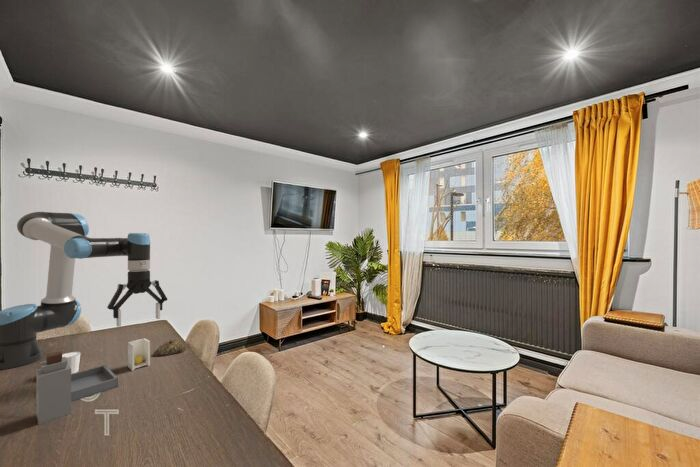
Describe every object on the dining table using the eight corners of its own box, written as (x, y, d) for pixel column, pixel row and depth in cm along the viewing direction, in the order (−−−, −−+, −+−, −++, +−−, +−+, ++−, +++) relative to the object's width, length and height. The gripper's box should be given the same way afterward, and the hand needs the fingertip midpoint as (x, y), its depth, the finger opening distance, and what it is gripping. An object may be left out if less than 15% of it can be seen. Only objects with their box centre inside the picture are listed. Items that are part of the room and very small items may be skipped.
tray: (48, 388, 104) (48, 380, 104) (104, 372, 116) (104, 364, 116) (56, 406, 93) (56, 396, 93) (118, 386, 105) (118, 378, 105)
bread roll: (183, 354, 134) (183, 343, 134) (151, 358, 130) (151, 347, 130) (187, 344, 146) (187, 334, 146) (158, 348, 142) (158, 337, 142)
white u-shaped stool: (127, 366, 121) (127, 342, 121) (144, 361, 126) (144, 338, 126) (132, 370, 117) (132, 345, 117) (149, 365, 122) (150, 341, 122)
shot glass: (65, 377, 112) (65, 359, 112) (51, 375, 113) (51, 357, 113) (85, 369, 119) (85, 352, 119) (71, 368, 120) (71, 350, 120)
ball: (132, 364, 121) (132, 356, 122) (141, 362, 124) (141, 354, 124) (135, 365, 119) (134, 356, 120) (144, 362, 122) (143, 354, 122)
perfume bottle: (67, 405, 93) (67, 348, 93) (71, 413, 89) (71, 353, 89) (36, 415, 88) (36, 354, 88) (38, 424, 84) (38, 360, 84)
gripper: (102, 274, 110) (102, 331, 109) (175, 268, 129) (175, 316, 129) (97, 272, 114) (97, 327, 114) (168, 267, 134) (168, 314, 134)
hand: (139, 322), depth 121 cm, fingers open, 13 cm apart
